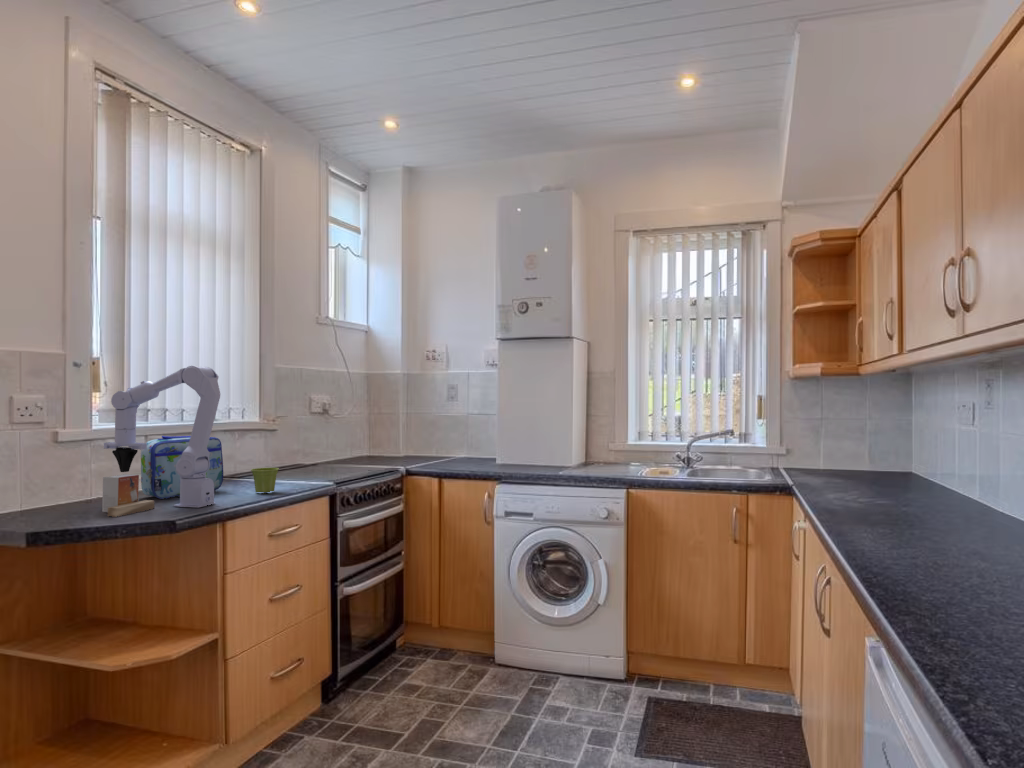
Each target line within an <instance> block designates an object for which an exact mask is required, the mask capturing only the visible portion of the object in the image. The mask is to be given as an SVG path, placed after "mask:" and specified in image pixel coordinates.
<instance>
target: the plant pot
mask: <svg viewBox="0 0 1024 768" xmlns="http://www.w3.org/2000/svg"><path fill="white" fill-rule="evenodd" d="M279 470H280V468H279V467H257V468H251V470H250V471H251V472H252V476H253V484H254V488H255V489H254V490H255V491H254V492H255V493H256V492H270V491H274V492H275V488H276V487H275V486H276V481H277V475H278V472H279Z"/></svg>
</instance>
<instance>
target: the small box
mask: <svg viewBox="0 0 1024 768" xmlns="http://www.w3.org/2000/svg"><path fill="white" fill-rule="evenodd" d="M139 477H140V475H139V474H126V473H125V474H123V473H122V474H118V475H113V476H112V475H111V476H103V477H102V500H101V501H102V502H101V503H102V508H101V510H102V513H108V508H109V507H114V506H119V505H124V504H129V503H134V502H139V484H140V483H139V482H140V479H139Z"/></svg>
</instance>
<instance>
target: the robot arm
mask: <svg viewBox="0 0 1024 768" xmlns="http://www.w3.org/2000/svg"><path fill="white" fill-rule="evenodd" d="M218 381H219V375H218V374H217V373H216V371H215V370H214V369H213V368H211V367H209V366H197V365H188V366H187V367H184V368H180V369H179V370H177V371H174V372H173V373H170V374H168V375H167V376H165V377H163V378H161V379H159V380H157V381H155V382H153V381H151V380H143V381H140V384H138V385H136V386H133V387H128V388H127V390H126V391H124V390H118V391H116V392H115V393H113V395H112V396H111V401H110V402H111V405H112V407H113V408H114V409H115V410H114V411H115V414H114V416H115V417H114V418H115V419H114V442H113V441H112V442H103V449H106V450H107V449H108V450H109V449H110V450H112V452H111V453H112V454H113V455H114V457H115V459H116V461H117V464H118V468H119V472H120V473H128V472H130V469H131V467H132V466H131V465H132V463H133V460H134V459H135V456H136V455H137V454H138V450H139V451H141V450H143V449H147V443H146V442H137V413H138V408H139V407H140V405H142V404H144V403H146V402H150V401H151V400H153V399H156V398H158V396H159V394H160V392H162V391H165V390H167V389H171V388H173V387H177V386H178V385H181V384H185V385H187V386H188V387H189V388H190V389H192V390H194V391H195V393H196V394H197V396H198V397H199V404H198V408H197V410H196V414H195V419H194V422H193V425H192V430H191V433H190V434H191V435H190V436H191V437H190V441H189V445H188V447H187V448H186V449H185V450H184V451H183V453H182V456H181V458H180V459H179V460H178V462H177V464H176V471H177V473H178V474H179V475H180V496H179V503H176V504H173V505H172V507H177V508H179V507H181V508H203V507H207V505H208V506H210V505H211V504H212V505H215V503H216V501H215V490H214V482H213V480H212V479H210V478H206V477H205V476H206V472H207V471H208V470H209V467H210V461H209V456H210V453H209V451H208V450H207V446H208V442H209V438H210V437H211V433H212V431H213V426H214V423H215V422H214V421H215V418H216V414H217V411H218V407H219V404H220V403H219V402H220V399H221V391H220V390H221V389H220V385H219V382H218ZM113 449H114V450H113ZM212 505H211V506H212Z"/></svg>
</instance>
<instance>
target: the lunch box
mask: <svg viewBox="0 0 1024 768" xmlns="http://www.w3.org/2000/svg"><path fill="white" fill-rule="evenodd" d="M190 437H191V435H181V436H174V435H173V436H165V435H161V438H157V439H151V440H148V441H146V442H145V443H147V449H143V450H140V484H141V485H140V486H141V490H142V493H143V495H145V496H149V497H150V496H151V497H155V498H158V499H160V500H164V499H163V498H166V499H170V497H171V498H176V497H175V496H178V497H180V475H179V474H178V473H177V471H176V464H177V462H178V460H179V459H180V458H181V456H182V453H183V451H184V450H185V449H186V448H187V447H188V445H189V441H190ZM222 447H223V446H222V442H221V439H219V438H218V437H215V436H214V437H212V436H210V438H209V442H208V446H207V450H208V451H209V453H210V456H209V461H210V467H209V470H208V471H207V472H206V476H205V477H206V478H210V479H212V480H213V482H214V491H218V490H219V489H220V488H221V487H222V484H223V482H224V461H223V451H222V450H223V448H222Z"/></svg>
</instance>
